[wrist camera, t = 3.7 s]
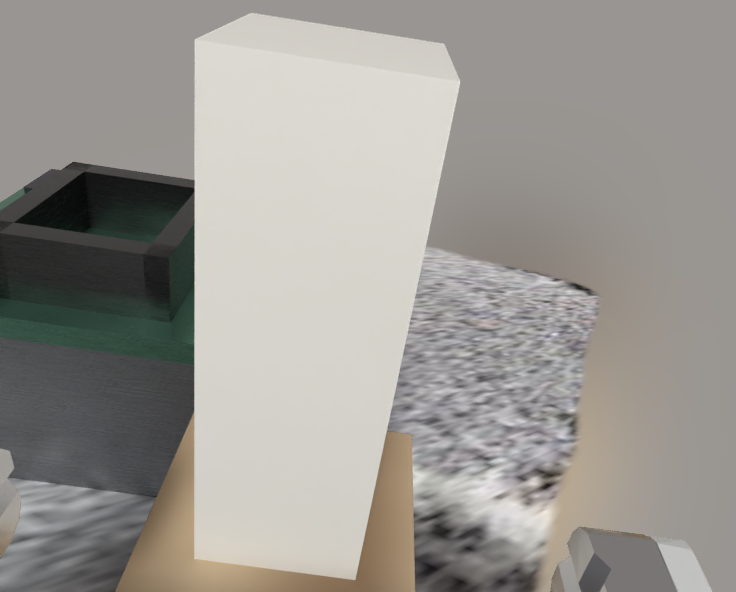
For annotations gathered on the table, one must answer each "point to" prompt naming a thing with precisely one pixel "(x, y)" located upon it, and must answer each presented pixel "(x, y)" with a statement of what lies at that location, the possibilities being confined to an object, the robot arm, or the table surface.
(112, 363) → the green-topped socket block
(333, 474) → the keyed plug
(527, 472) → the table surface
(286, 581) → the parts stand
